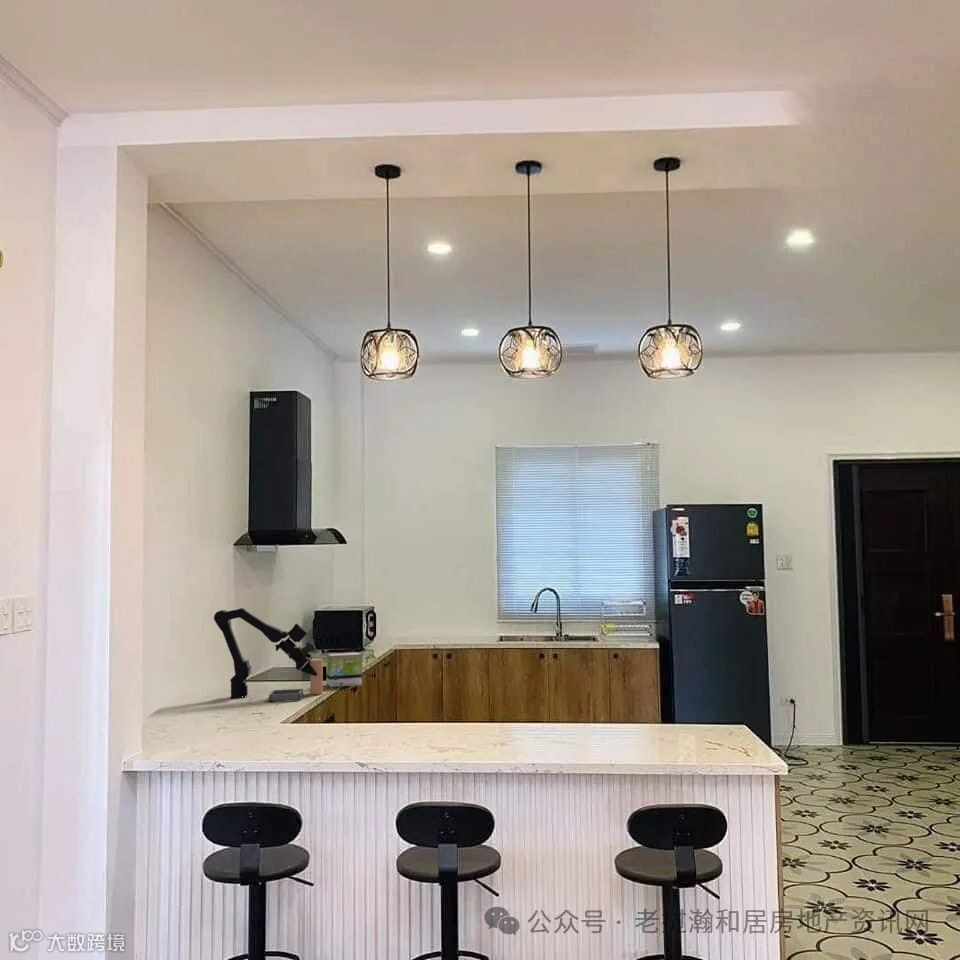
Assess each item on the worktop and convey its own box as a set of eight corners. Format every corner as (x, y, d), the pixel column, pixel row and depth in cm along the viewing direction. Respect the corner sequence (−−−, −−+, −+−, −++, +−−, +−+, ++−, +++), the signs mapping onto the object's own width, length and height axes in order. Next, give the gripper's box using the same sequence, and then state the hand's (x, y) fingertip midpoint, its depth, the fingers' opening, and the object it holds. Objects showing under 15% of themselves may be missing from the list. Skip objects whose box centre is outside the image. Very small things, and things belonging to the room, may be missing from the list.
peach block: (310, 694, 389) (310, 660, 390) (311, 692, 395) (311, 658, 396) (322, 694, 390) (321, 660, 391) (323, 692, 396) (322, 658, 397)
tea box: (330, 688, 408) (330, 655, 409) (326, 685, 417) (325, 653, 418) (362, 685, 414) (362, 653, 415) (357, 682, 423) (356, 651, 424)
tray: (269, 702, 373) (269, 694, 373) (273, 697, 386) (273, 690, 386) (300, 700, 375) (300, 693, 375) (303, 695, 387) (303, 688, 388)
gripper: (302, 638, 385) (328, 662, 385) (306, 634, 403) (331, 657, 403) (284, 657, 383) (311, 682, 384) (289, 653, 402) (314, 676, 402)
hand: (317, 673), depth 393 cm, fingers open, 9 cm apart
